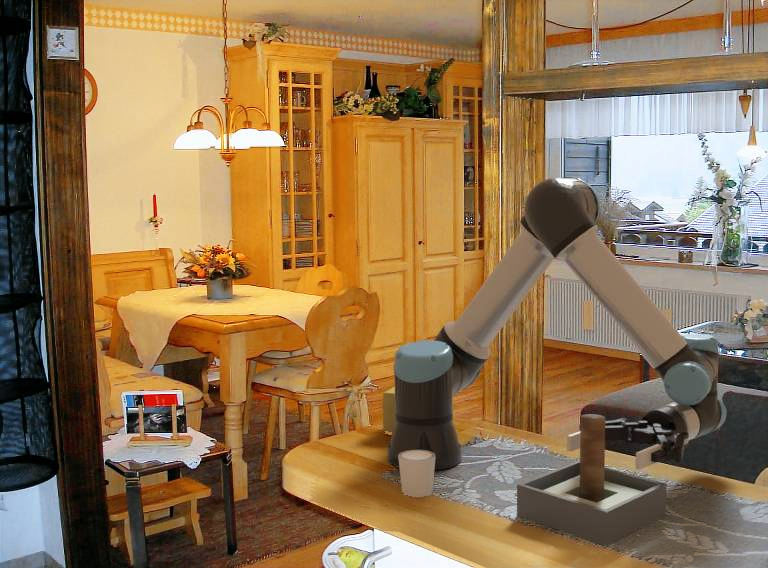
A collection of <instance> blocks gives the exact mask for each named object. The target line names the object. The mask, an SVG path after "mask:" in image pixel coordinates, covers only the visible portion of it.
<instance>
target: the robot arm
mask: <svg viewBox="0 0 768 568" xmlns="http://www.w3.org/2000/svg"><path fill="white" fill-rule="evenodd" d="M525 199H526V200H525V203H524V209H523V210H524V214H523V216H522V218H521V219H520V220H519V227H520V233H519V234H518V235H517V238H516V239H515V240H514V241H513V242H512V244H511V245H510V247H509V248H508V250H506V252H505V254H504V255H503V256H502V258H501V259H500V261H499V262H498V263H497V265H496V266H495V268H494V269H493V270H492V271H491V272H490V274H489V275H488V277H487V278H486V280H485V281H484V282H483V283H482V285H481V286H480V288H479V289H478V290H477V292H476V293H475V294H474V296H473V297H472V299H471V301H469V302H468V304H467V306H466V307H465V308H464V309H463V311H462V312H461V314H460V315H459V317H458V318H457V319H456V320H454V321H447V322H445V324H444V325H443V326H442V328H441V329H440V330H439V332H438V334H437V335H436V336H435V337H434V338H433V340H425V339H424V340H418V341H417V340H416V341H414V342H408V343H406V344H403V345H401V346H400V347H399V348H397V350H396V352H395V354H394V363H393V372H394V373H393V376H394V378H393V379H394V386H395V426H394V429H393V433H392V435H391V438H390V442H389V444H388V446H387V450H386V452H387V454H386V455H387V457H386V458H388V459H387V462H388V461H389V462H390V463H392V464H393V465H392V464H391V465H392V466H394V465H396V466H398V467H397V468H399V458H398V454H400V453H401V452H404V451H408V450H427V451H430V452H433V453H434V454H435V469H434V471H439V470H440V471H441V470H446V469H449V468H453V467H455V466H457V465H459V464H460V463H461V462H462V459H463V449H462V446H461V443H459V438H458V434H457V430H456V428H455V427H456V426H455V425H454V424H455V423H454V417H453V414H454V413H453V408H454V407H453V405H454V401H453V400H454V397H453V396H455V395H456V394H458V393H460V392H461V391H462V390H465V389H466V388H467V389H468V387H470V386H471V385H472V384H474V382H475V381H476V380H477V378H478V377H479V375H480V374H481V372H482V368H483V366H484V364H485V363H486V362H487V360H488V359H489V358H490V356H491V349H490V345H491V344H492V342H493V341H494V339H495V338H496V337H497V335H498V334H499V333H500V331H501V330H502V329H503V328H504V326H505V325H506V324H507V322H508V321H509V320H510V318H511V317H512V316H513V315H514V313H515V312H516V311H517V310H518V308H519V306H520V305H521V303H522V302H523V301H524V300H525V298H526V297H527V296H528V294H529V293H530V292H531V290H532V289H533V288H534V287H535V285H536V284H537V283H538V281H539V280H540V279H541V278H542V276H543V274H545V272H546V271H547V270H548V268H549V267H550V266H551V264H552V263H553V261H554V260H556V261H563V262H565V264H566V265H567V266H568V267H569V269H570V270H571V271H572V272H573V273H574V274H575V276H576V277H577V278H578V279H579V281H580V282H581V283H582V284H583V286H584V287H585V288H586V289H587V290H588V291H589V292H590V294H591V295H592V297H594V299H595V300H596V301H597V302H598V303H599V305H600V306H601V308H602V309H603V310H604V311H605V312H606V313H607V315H608V316H609V317H610V318H611V319H612V320H613V322H614V323H615V325H617V327H618V328H619V329H620V330H621V331H622V333H623V334H624V335H625V336H626V337H627V338H628V340H629V341H630V342H631V344H632V345H633V346H634V348H636V350H637V351H638V352H639V353H640V354H641V356H642V357H643V359H645V360H646V362H647V363H648V364H649V365H650V366H651V367H652V369H653V370H654V371H655V373H656V374H657V375H658V377H659V378H660V379H661V380H662V382H663V388H664V391H665V393H666V395H667V397H669V398H670V399H671V401H673V402H671V403H669V404H668V403H667V404H666V405H662V406H660V407H657V408H655V409H652V410H650V411H648V412H647V413H645V414H644V416H642V418H641V420H638V421H635V422H632V421H631V422H627V421H628V419H627V418H624V417H621V418H617V419H613V420H605V442H607V441H608V442H609V441H612V442H613V441H623V442H624V443H626V444H632V443H633V444H634V443H638V444H640V445H642V444H643V445H644V444H645V445H648V446H649V447H647V448H644V449H642V450H640V451H637V452H635V469H636V470H642V469H645V468H647V467H650V466H652V465H654V464H657V463H661V462H663V461H666V462H669V461H671V459H672V460H673V461H674V463H679V464H680V463H683V458H684V457H683V456H684V451H685V449H687V448H689V441H692V440H694V439H696V438H699V437H702V436H705V435H709V434H711V433H712V432H714V431H716V430H718V429H719V428H720V427H721V426H722V425H724V423H725V421H726V418H727V414H728V413H727V411H728V410H727V408H726V406H725V403H724V401H723V399H722V398H721V397H720V396H719V395H718V379H719V378H718V377H719V376H718V375H719V358H720V357H719V356H720V350H719V339H718V338H717V337H716V336H715V335H711V334H707V333H706V334H705V333H684V334H681V333H679V331H678V329H676V327H675V326H674V325H673V324H672V323H671V322H670V320H669V319H668V318H667V316H666V315H665V314H664V313H663V311H661V309H659V307H658V306H657V305H656V303H654V301H653V300H652V299H651V298H650V296H649V295H648V294H647V293H646V292H645V290H644V289H643V288H642V287H641V286H640V284H639V282H637V281H636V279H635V278H634V277H633V276H632V275H631V274H630V272H629V271H628V270H627V269H626V267H625V266H624V265H623V264H622V263H621V262H620V260H619V259H618V258H617V256H616V255H615V254H614V253H613V252H612V250H611V249H610V248H609V247H608V246H607V245H606V243H605V242H604V241H603V240H602V239H601V238H600V236H599V235H598V225H597V224H596V222H597V221H598V218H599V215H600V211H601V203H600V199H599V195H598V194H597V192H596V190H595V189H594V188H593V187H592V185H590V184H589V183H588V182H586V181H584V180H583V179H580V178H578V177H575V176H564V177H553V178H547V179H545V180H543V181H539V182H538V183H537V184H536V185H535V186H533V187H532V189H531V190H530V191H529V193H528V195H527V196H526V198H525ZM578 428H579V431H577V432H574V433H570V434H568V435H567V436H566V437H567V438H566V439H567V441H566V443H567V444H566V447H567V448H566V450H567V451H568V452H573V451H575V450H580V429H581V423H579V427H578ZM629 432H630V437H629ZM389 462H388V463H389ZM390 463H389V464H390ZM396 466H395V467H396Z"/></svg>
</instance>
